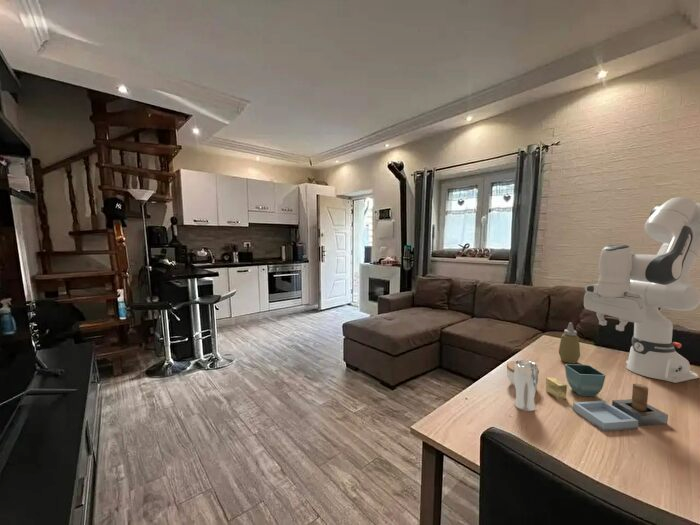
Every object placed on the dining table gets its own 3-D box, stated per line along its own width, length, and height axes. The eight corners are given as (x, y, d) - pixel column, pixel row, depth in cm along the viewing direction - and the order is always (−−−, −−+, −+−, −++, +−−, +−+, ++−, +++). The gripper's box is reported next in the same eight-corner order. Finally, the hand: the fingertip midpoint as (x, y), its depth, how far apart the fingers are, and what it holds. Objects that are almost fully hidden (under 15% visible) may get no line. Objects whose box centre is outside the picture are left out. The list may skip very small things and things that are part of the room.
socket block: (636, 407, 100) (637, 398, 99) (667, 424, 91) (668, 414, 90) (611, 409, 99) (612, 400, 99) (640, 426, 90) (641, 416, 90)
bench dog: (553, 389, 111) (553, 377, 111) (566, 398, 106) (566, 385, 105) (545, 390, 111) (546, 377, 111) (558, 399, 105) (558, 385, 105)
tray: (603, 407, 100) (603, 400, 99) (637, 428, 89) (638, 420, 89) (572, 409, 99) (573, 402, 99) (603, 431, 88) (604, 423, 88)
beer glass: (533, 402, 103) (535, 361, 102) (539, 414, 97) (541, 369, 95) (511, 399, 106) (512, 358, 104) (515, 410, 99) (516, 366, 98)
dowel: (637, 412, 97) (639, 383, 96) (649, 419, 93) (651, 388, 92) (627, 413, 96) (629, 383, 95) (639, 420, 93) (641, 389, 92)
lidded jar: (538, 396, 107) (539, 371, 106) (505, 388, 113) (505, 364, 112) (538, 383, 116) (539, 360, 116) (507, 377, 122) (508, 355, 121)
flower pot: (587, 387, 113) (589, 364, 112) (605, 399, 104) (606, 375, 104) (563, 386, 114) (564, 363, 113) (578, 398, 105) (579, 374, 105)
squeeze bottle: (577, 359, 138) (579, 321, 137) (582, 366, 131) (584, 326, 130) (556, 356, 142) (558, 319, 140) (560, 363, 134) (562, 324, 133)
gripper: (653, 295, 97) (649, 336, 98) (596, 285, 117) (594, 319, 118) (635, 296, 96) (632, 337, 97) (581, 285, 116) (579, 320, 118)
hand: (610, 327), depth 108 cm, fingers open, 5 cm apart
